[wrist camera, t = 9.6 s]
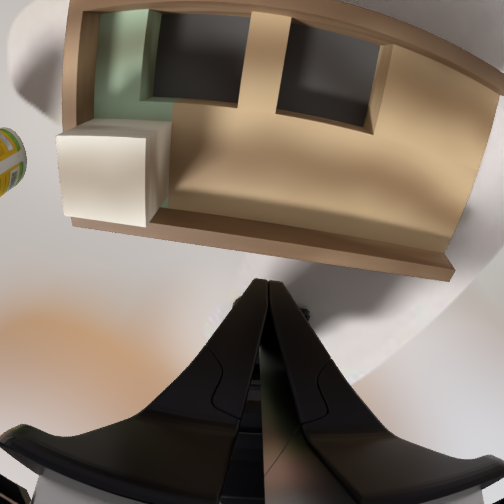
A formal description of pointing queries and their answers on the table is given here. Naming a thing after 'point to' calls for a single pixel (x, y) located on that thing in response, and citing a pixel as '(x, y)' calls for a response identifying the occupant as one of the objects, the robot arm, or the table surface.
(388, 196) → the box
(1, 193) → the supplement bottle
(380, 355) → the table surface
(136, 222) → the block
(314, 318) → the table surface
